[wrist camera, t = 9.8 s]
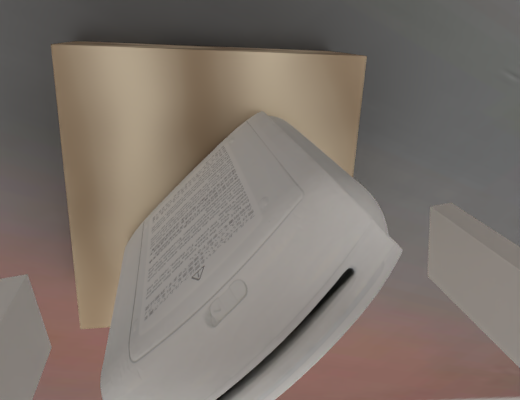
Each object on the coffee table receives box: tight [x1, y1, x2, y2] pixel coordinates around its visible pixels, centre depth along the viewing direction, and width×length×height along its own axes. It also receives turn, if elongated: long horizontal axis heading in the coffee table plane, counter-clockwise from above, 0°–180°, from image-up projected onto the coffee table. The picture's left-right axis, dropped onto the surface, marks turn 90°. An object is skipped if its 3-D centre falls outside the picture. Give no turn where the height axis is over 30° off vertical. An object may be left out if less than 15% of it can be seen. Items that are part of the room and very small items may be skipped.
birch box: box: [51, 41, 367, 329], centre depth 26 cm, size 14×14×6 cm
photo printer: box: [100, 111, 402, 400], centre depth 17 cm, size 10×4×12 cm, turn 134°
